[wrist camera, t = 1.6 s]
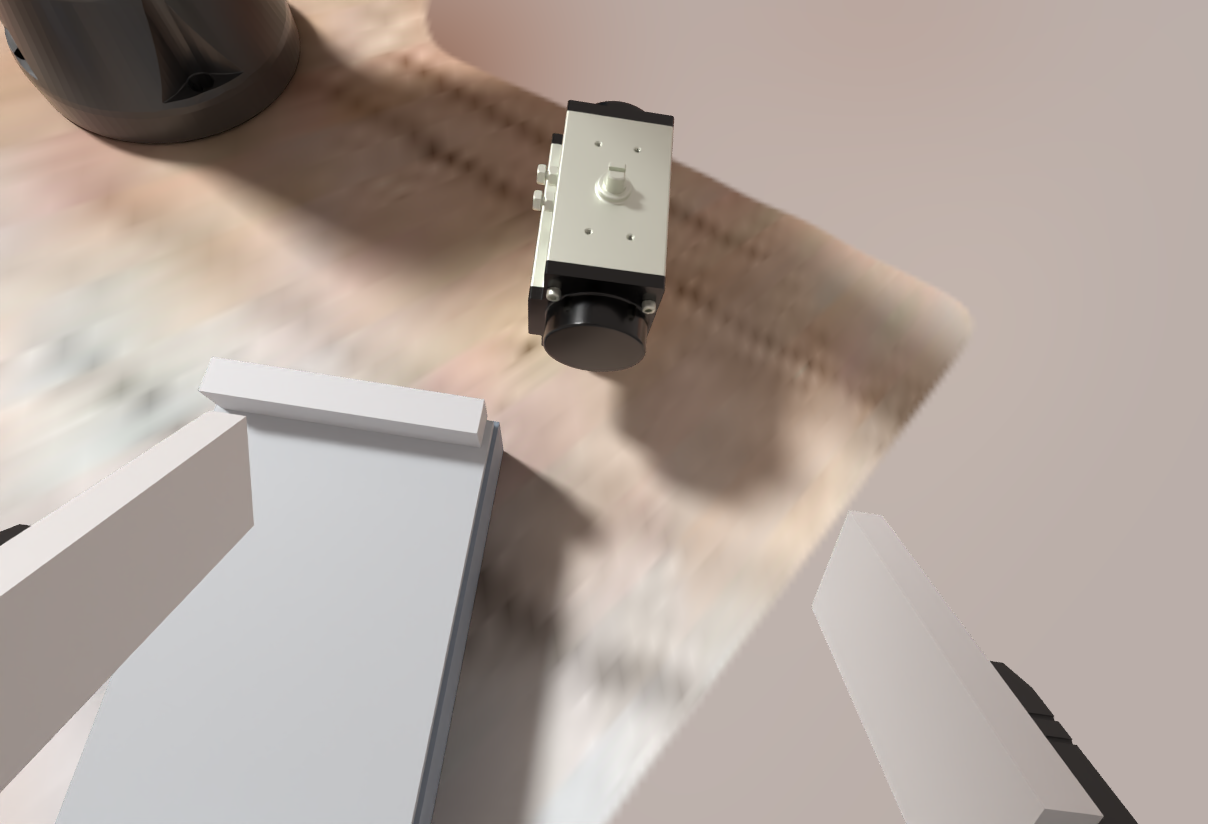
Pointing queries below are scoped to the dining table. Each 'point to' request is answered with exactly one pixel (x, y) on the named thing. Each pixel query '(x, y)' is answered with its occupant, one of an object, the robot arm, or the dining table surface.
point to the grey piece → (310, 619)
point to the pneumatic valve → (601, 235)
